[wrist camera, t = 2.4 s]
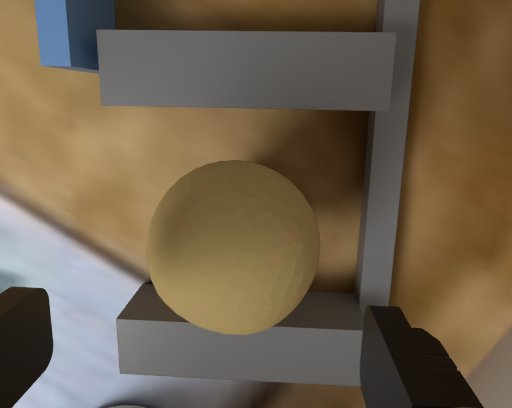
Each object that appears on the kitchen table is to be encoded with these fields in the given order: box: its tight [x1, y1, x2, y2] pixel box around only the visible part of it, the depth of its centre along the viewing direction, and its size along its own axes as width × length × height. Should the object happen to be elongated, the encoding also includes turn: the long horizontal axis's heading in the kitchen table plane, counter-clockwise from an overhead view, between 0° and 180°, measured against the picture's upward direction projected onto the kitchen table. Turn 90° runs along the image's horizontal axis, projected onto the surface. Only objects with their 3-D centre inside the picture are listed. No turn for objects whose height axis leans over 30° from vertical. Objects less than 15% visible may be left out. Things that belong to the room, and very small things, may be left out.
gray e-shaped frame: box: [35, 0, 420, 387], centre depth 19 cm, size 29×15×5 cm, turn 179°
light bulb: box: [147, 160, 320, 335], centre depth 18 cm, size 6×6×10 cm
